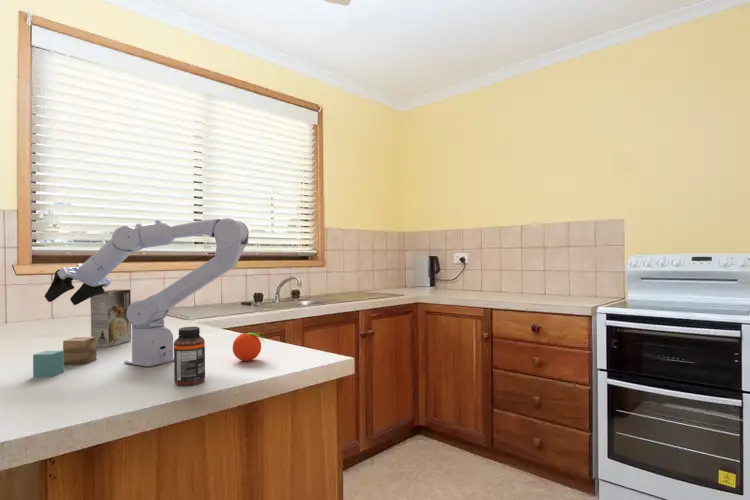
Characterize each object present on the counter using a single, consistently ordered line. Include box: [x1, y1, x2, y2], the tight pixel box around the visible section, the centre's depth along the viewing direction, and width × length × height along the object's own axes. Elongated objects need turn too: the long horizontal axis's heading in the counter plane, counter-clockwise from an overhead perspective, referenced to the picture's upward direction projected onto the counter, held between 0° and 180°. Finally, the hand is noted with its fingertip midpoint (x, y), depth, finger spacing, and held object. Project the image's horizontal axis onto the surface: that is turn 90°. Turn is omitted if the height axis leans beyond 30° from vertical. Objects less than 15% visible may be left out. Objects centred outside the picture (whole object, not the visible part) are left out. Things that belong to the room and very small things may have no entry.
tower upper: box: [62, 336, 97, 353], centre depth 113 cm, size 5×5×3 cm
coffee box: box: [90, 289, 132, 348], centre depth 137 cm, size 9×6×16 cm
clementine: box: [232, 331, 265, 362], centre depth 113 cm, size 8×7×7 cm
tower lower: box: [64, 348, 98, 366], centre depth 113 cm, size 5×5×3 cm
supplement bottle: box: [173, 326, 206, 387], centre depth 94 cm, size 6×6×11 cm
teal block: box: [32, 350, 65, 378], centre depth 101 cm, size 4×4×5 cm
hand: (60, 300), depth 112 cm, fingers open, 7 cm apart
